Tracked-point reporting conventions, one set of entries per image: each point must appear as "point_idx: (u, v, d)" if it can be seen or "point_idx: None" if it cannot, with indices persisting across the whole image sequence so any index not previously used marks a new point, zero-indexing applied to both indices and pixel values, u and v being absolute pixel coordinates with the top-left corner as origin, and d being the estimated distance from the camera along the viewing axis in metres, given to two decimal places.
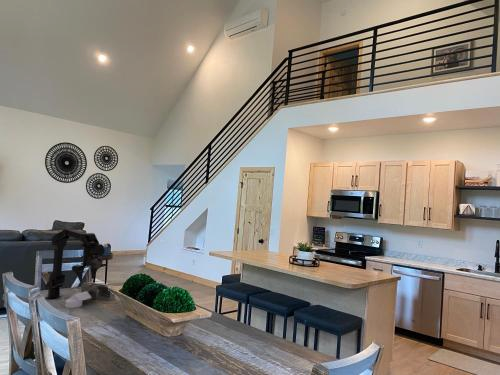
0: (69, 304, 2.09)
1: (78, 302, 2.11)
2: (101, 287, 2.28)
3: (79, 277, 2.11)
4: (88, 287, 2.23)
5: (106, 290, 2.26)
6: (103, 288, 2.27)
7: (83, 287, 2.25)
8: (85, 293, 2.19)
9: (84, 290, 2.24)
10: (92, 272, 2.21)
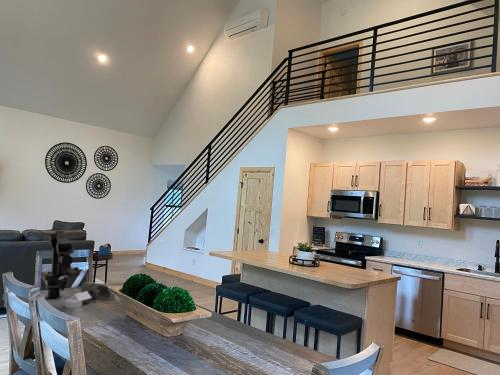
0: (69, 304, 2.09)
1: (78, 302, 2.11)
2: (101, 287, 2.28)
3: (60, 285, 2.04)
4: (88, 287, 2.23)
5: (106, 290, 2.26)
6: (103, 288, 2.27)
7: (83, 287, 2.25)
8: (85, 293, 2.19)
9: (84, 290, 2.24)
10: None
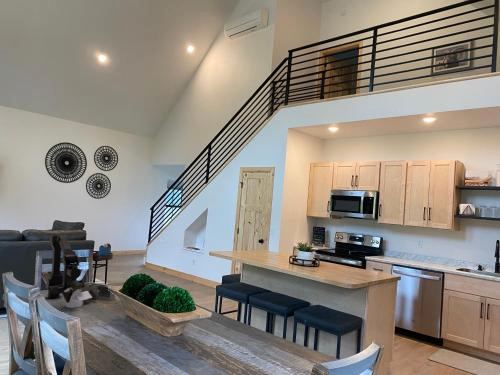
0: (70, 303, 2.09)
1: (79, 302, 2.11)
2: (101, 287, 2.28)
3: (66, 298, 2.08)
4: (88, 287, 2.23)
5: (106, 290, 2.26)
6: (103, 288, 2.27)
7: (83, 287, 2.25)
8: (85, 292, 2.19)
9: (84, 290, 2.24)
10: None
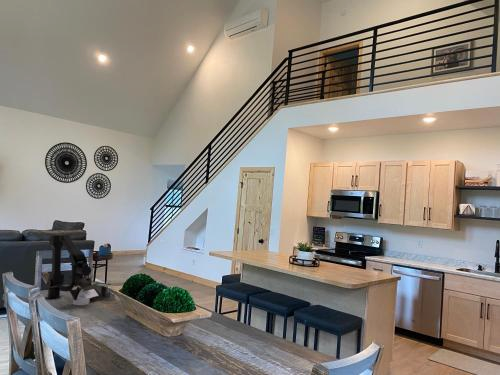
0: (77, 301, 2.14)
1: (86, 299, 2.16)
2: None
3: (73, 295, 2.13)
4: (93, 286, 2.27)
5: (106, 290, 2.26)
6: (103, 288, 2.27)
7: (88, 286, 2.28)
8: (92, 290, 2.24)
9: (89, 289, 2.28)
10: None
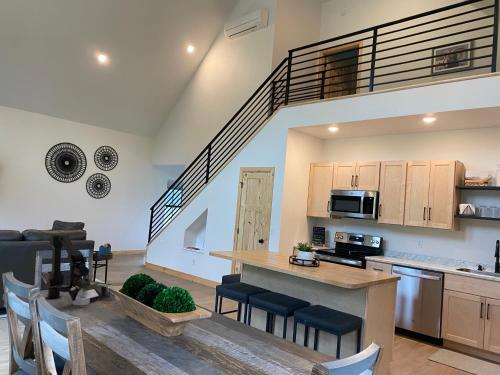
0: (77, 301, 2.14)
1: (86, 300, 2.16)
2: None
3: (72, 296, 2.11)
4: (93, 286, 2.27)
5: (106, 290, 2.26)
6: (103, 288, 2.27)
7: (88, 286, 2.28)
8: (92, 291, 2.24)
9: (89, 289, 2.28)
10: None
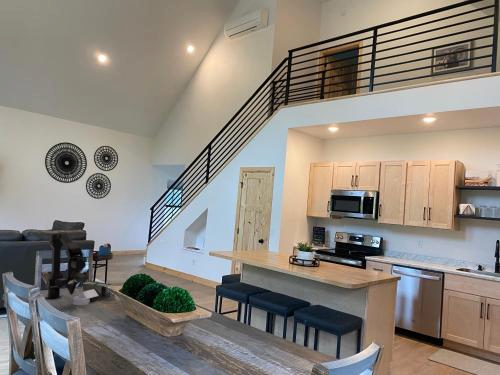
0: (77, 301, 2.14)
1: (86, 300, 2.16)
2: None
3: (69, 289, 2.10)
4: (93, 286, 2.27)
5: (106, 290, 2.26)
6: (103, 288, 2.27)
7: (88, 286, 2.28)
8: (92, 291, 2.24)
9: (89, 289, 2.28)
10: None
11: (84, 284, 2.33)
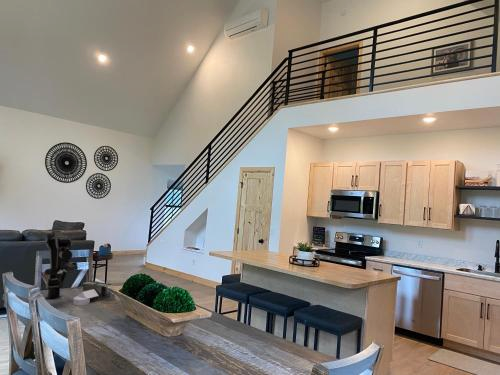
0: (77, 301, 2.14)
1: (86, 300, 2.16)
2: None
3: (59, 279, 2.14)
4: (93, 286, 2.27)
5: (106, 290, 2.26)
6: (103, 288, 2.27)
7: (88, 286, 2.28)
8: (92, 291, 2.24)
9: (89, 289, 2.28)
10: None
11: (84, 284, 2.33)
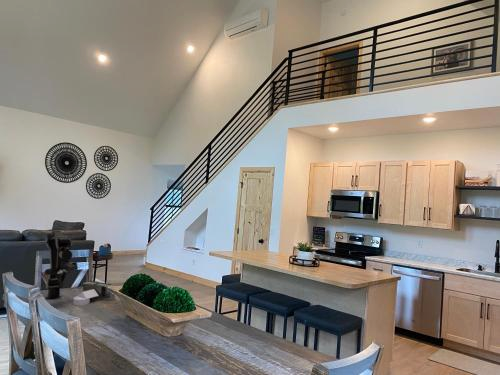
0: (77, 301, 2.14)
1: (86, 300, 2.16)
2: None
3: (59, 279, 2.14)
4: (93, 286, 2.27)
5: (106, 290, 2.26)
6: (103, 288, 2.27)
7: (88, 286, 2.28)
8: (92, 291, 2.24)
9: (89, 289, 2.28)
10: None
11: (84, 284, 2.33)
